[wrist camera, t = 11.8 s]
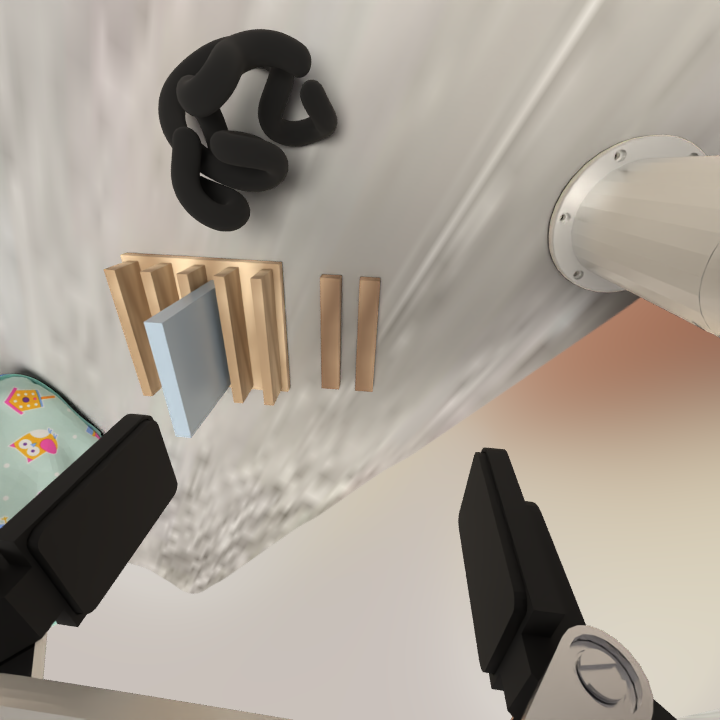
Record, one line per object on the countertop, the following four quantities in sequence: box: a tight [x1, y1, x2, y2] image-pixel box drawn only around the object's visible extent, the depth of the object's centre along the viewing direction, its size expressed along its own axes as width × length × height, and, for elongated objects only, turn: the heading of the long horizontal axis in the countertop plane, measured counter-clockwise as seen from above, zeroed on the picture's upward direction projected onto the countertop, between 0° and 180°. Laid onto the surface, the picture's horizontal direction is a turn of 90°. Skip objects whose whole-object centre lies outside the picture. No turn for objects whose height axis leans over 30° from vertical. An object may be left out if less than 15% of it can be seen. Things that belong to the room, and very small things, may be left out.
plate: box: [144, 280, 231, 438], centre depth 33 cm, size 1×11×11 cm, turn 177°
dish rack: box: [104, 253, 290, 405], centre depth 37 cm, size 16×15×4 cm
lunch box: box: [0, 374, 102, 627], centre depth 40 cm, size 27×10×21 cm, turn 25°
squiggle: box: [158, 29, 337, 231], centre depth 25 cm, size 11×10×15 cm
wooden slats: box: [320, 274, 380, 392], centre depth 38 cm, size 6×13×1 cm, turn 177°
